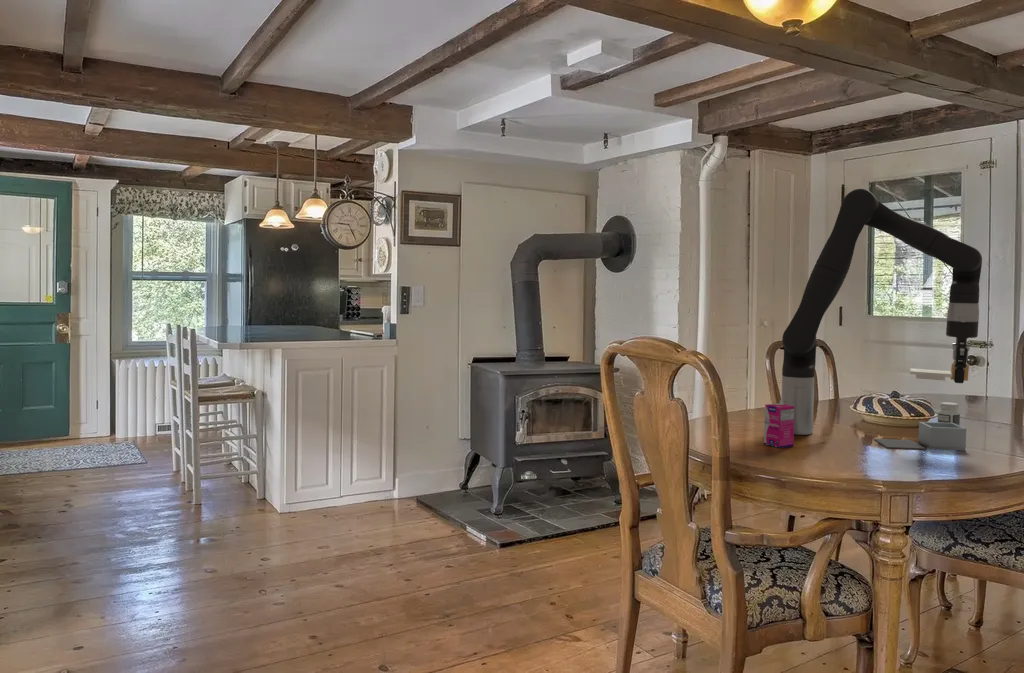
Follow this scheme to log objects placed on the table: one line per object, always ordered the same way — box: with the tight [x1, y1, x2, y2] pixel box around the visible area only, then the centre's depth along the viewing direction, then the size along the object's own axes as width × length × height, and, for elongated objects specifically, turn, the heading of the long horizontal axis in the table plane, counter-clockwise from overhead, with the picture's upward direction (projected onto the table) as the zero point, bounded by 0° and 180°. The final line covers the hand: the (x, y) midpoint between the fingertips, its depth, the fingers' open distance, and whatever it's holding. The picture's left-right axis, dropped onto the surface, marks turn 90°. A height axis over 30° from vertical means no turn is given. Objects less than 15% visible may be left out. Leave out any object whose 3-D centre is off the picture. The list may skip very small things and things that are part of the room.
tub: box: [917, 421, 967, 451], centre depth 215 cm, size 9×9×6 cm
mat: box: [873, 438, 927, 451], centre depth 217 cm, size 10×12×1 cm
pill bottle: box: [937, 401, 961, 426], centre depth 230 cm, size 6×6×10 cm
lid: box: [909, 362, 970, 382], centre depth 214 cm, size 14×10×5 cm
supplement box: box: [763, 402, 795, 449], centre depth 214 cm, size 6×6×12 cm
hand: (958, 382), depth 212 cm, fingers closed on lid, 2 cm apart
